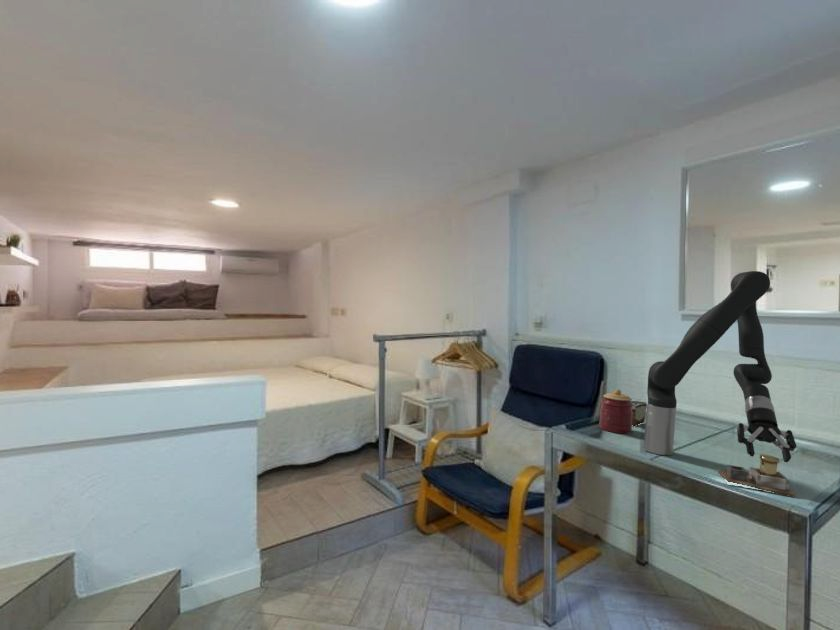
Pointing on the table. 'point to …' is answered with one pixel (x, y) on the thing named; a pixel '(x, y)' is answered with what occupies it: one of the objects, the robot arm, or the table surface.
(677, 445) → the table surface
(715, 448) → the table surface
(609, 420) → the canister
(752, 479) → the collar base
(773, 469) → the gold round-topped cylinder
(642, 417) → the food container
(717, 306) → the robot arm
